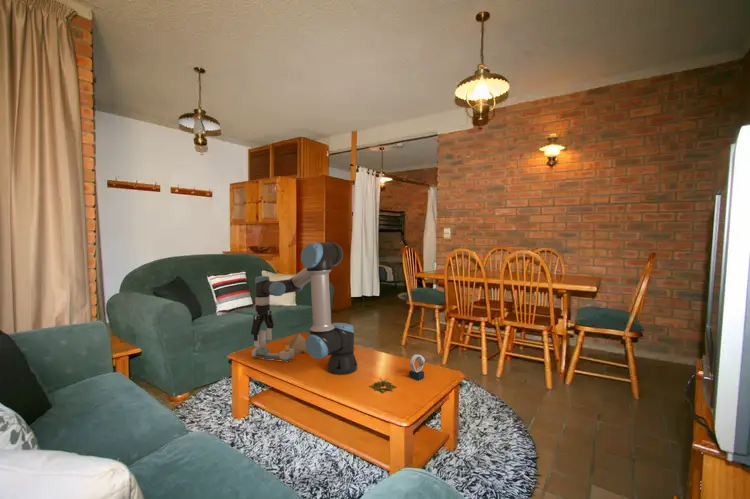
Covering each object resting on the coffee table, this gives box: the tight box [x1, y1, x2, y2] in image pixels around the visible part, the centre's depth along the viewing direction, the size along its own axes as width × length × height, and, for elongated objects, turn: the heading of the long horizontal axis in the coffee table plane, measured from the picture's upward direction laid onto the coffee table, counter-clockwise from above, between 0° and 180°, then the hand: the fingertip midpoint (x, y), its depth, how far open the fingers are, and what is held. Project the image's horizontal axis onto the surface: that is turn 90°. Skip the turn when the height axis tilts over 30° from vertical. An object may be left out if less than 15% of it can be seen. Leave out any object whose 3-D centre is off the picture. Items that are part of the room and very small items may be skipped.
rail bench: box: [251, 345, 295, 362], centre depth 185 cm, size 22×7×5 cm, turn 75°
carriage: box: [257, 329, 270, 355], centre depth 187 cm, size 4×5×13 cm
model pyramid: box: [282, 333, 308, 355], centre depth 200 cm, size 17×17×10 cm
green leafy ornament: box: [369, 377, 397, 394], centre depth 150 cm, size 12×12×5 cm
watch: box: [408, 353, 426, 382], centre depth 159 cm, size 6×8×11 cm
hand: (263, 342), depth 187 cm, fingers open, 11 cm apart
